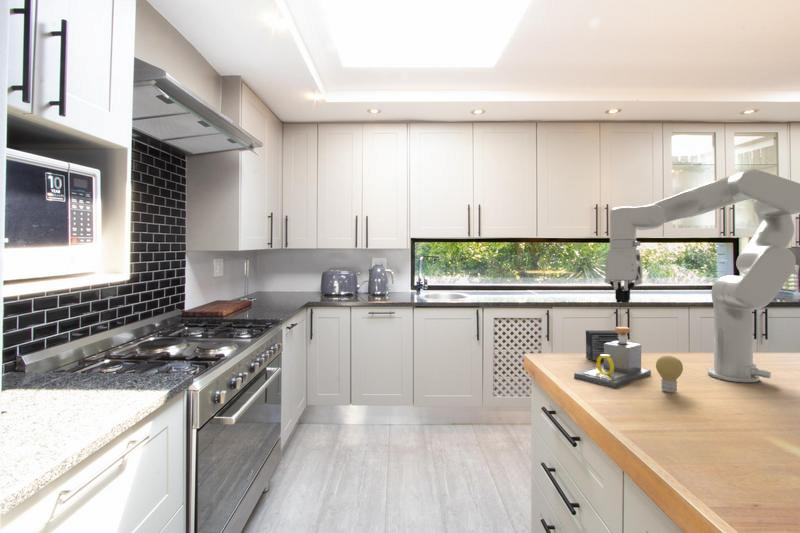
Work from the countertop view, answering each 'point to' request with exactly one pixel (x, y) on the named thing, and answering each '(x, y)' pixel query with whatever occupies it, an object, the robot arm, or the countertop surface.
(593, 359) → the small box
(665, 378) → the light bulb
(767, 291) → the robot arm
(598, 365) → the watch
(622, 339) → the light orange ellipsoid
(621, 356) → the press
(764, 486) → the countertop surface
